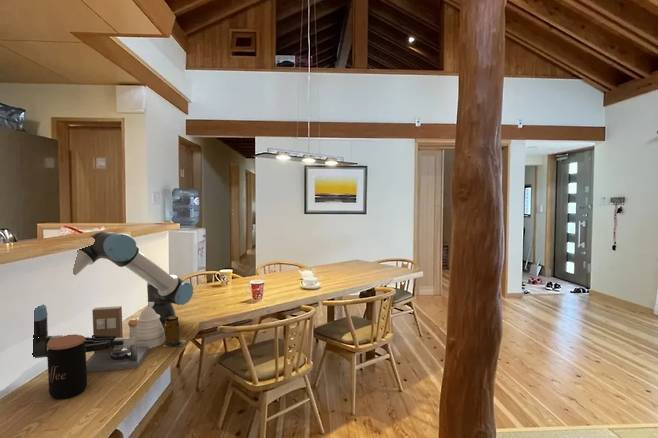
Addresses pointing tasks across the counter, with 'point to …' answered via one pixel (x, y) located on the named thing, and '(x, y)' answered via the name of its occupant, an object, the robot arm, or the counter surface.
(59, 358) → the coffee jar
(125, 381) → the counter surface
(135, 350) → the ball top joystick
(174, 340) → the condiment
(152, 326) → the honey pot
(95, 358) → the stand
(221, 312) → the counter surface
